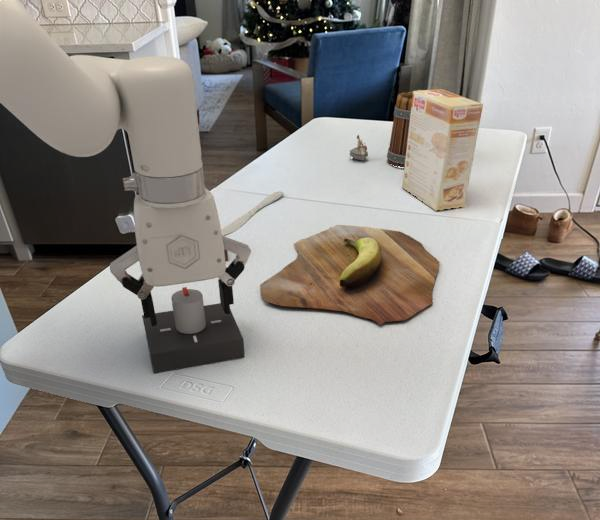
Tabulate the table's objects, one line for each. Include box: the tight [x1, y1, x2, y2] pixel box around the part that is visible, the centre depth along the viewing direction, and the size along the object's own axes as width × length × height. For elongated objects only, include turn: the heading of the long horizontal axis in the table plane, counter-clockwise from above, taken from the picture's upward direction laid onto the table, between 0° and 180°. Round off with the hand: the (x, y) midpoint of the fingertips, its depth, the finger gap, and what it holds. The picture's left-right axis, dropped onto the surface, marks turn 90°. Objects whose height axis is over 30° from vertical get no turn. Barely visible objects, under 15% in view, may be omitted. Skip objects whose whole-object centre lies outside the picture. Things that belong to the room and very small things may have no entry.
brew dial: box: [170, 286, 206, 334], centre depth 76 cm, size 4×4×5 cm
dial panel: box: [141, 302, 245, 374], centre depth 78 cm, size 12×10×3 cm
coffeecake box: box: [401, 88, 484, 212], centre depth 117 cm, size 15×7×20 cm, turn 20°
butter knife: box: [221, 191, 285, 237], centre depth 115 cm, size 1×27×3 cm
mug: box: [386, 89, 422, 167], centre depth 139 cm, size 16×11×15 cm
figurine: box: [349, 134, 369, 161], centre depth 142 cm, size 5×4×6 cm
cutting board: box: [259, 224, 441, 326], centre depth 96 cm, size 35×27×4 cm
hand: (189, 314), depth 76 cm, fingers open, 9 cm apart
